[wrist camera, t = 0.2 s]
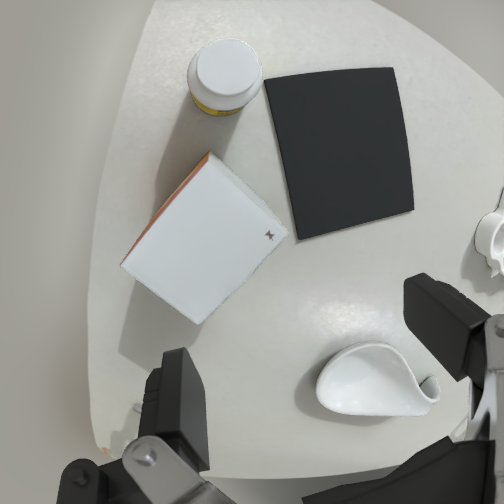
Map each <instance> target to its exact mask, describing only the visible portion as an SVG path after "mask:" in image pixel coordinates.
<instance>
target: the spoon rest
mask: <svg viewBox="0 0 504 504" xmlns="http://www.w3.org/2000/svg"><path fill="white" fill-rule="evenodd" d="M315 394H316V397H317V399H318V401H319V402H320V403H321V404H322V405H323V406H324V407H325V408H327V409H329V410H331V411H333V412H336V413H341V414H347V415H362V416H400V417H419V416H423V415H425V414H426V413H427V412H428V411H429V409H430V408H431V406H432V405H433V404H435V403H436V402H437V401H438V400H439V399H440V387H439V384H438V382H437V380H436V378H435V376H434V375H432V376H430V377H429V378H428V379H426V380H425V382H424V383H423V384H422V385H421V387H419V385H418V383H417V381H416V379H415V377H414V375H413V373H412V371H411V369H410V367H409V365H408V363H407V362H406V360H405V359H404V357H403V356H402V355H401V354H400V352H398V351H397V350H396V349H395V348H394V347H392V346H390V345H388V344H386V343H383V342H378V341H365V342H360V343H356V344H353V345H351V346H348V347H346V348H345V349H343V350H341V351H340V352H338V353H337V354H336V355H335V356H334V357H332V358H331V359H330V361H329V362H328V363H327V364H326V365H325V367H324V368H323V370H322V371H321V373H320V375H319V377H318V379H317V383H316V387H315Z"/></svg>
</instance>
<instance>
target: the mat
mask: <svg viewBox="0 0 504 504" xmlns="http://www.w3.org/2000/svg"><path fill="white" fill-rule="evenodd" d="M264 83H265V87H266V91H267V95H268V99H269V103H270V107H271V112H272V116H273V120H274V124H275V129H276V133H277V138H278V142H279V147H280V151H281V156H282V160H283V165H284V170H285V174H286V179H287V184H288V189H289V194H290V199H291V204H292V209H293V214H294V219H295V224H296V229H297V235H298V239H299V240H302V239H306V238H310V237H313V236H317V235H321V234H325V233H329V232H332V231H336V230H340V229H344V228H348V227H351V226H355V225H359V224H363V223H366V222H370V221H374V220H378V219H382V218H385V217H389V216H393V215H397V214H401V213H404V212H408V211H412V210H414V197H413V185H412V175H411V166H410V158H409V150H408V143H407V136H406V129H405V123H404V118H403V112H402V107H401V101H400V96H399V91H398V87H397V82H396V78H395V73H394V69H393V67H384V68H360V69H345V70H333V71H323V72H314V73H306V74H298V75H291V76H284V77H278V78H271V79H266V80H264Z"/></svg>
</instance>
